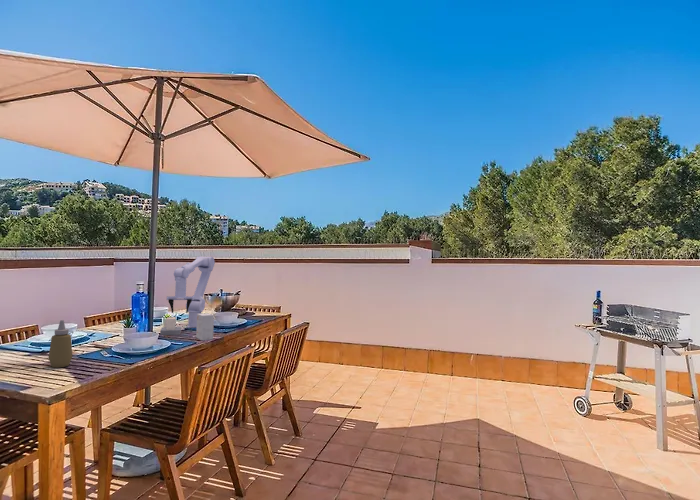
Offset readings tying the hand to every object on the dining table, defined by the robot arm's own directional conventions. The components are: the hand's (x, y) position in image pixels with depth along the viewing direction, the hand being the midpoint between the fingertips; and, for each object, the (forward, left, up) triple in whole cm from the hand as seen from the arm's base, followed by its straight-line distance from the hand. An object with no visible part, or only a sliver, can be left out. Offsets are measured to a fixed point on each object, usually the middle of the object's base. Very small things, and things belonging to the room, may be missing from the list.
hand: (179, 312), depth 258 cm
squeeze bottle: (+72, -40, -11) cm, 83 cm away
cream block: (+7, -4, -8) cm, 11 cm away
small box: (+24, +14, -11) cm, 30 cm away
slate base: (+7, -4, -10) cm, 13 cm away
